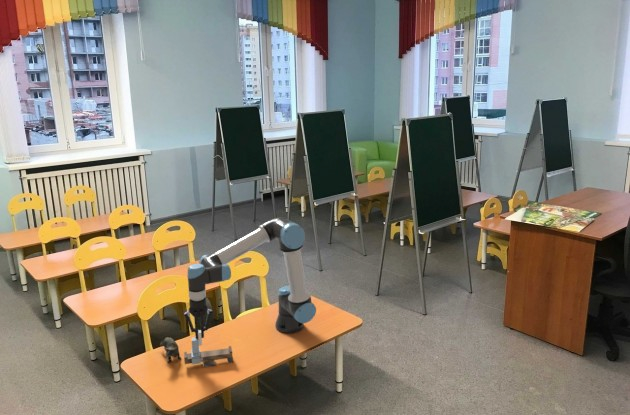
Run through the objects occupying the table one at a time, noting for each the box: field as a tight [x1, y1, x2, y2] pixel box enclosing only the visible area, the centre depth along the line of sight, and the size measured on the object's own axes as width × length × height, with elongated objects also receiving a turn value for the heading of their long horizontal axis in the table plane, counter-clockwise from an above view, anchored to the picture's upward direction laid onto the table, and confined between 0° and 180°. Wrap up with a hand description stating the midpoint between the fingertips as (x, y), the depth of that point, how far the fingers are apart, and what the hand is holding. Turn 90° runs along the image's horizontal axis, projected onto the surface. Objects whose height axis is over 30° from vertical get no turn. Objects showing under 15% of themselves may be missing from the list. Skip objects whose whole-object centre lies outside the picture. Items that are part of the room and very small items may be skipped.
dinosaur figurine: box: [159, 336, 182, 364], centre depth 241 cm, size 22×8×11 cm, turn 23°
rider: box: [190, 336, 202, 365], centre depth 234 cm, size 4×8×11 cm, turn 15°
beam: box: [183, 345, 234, 368], centre depth 237 cm, size 22×5×6 cm, turn 105°
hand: (200, 344), depth 234 cm, fingers closed
